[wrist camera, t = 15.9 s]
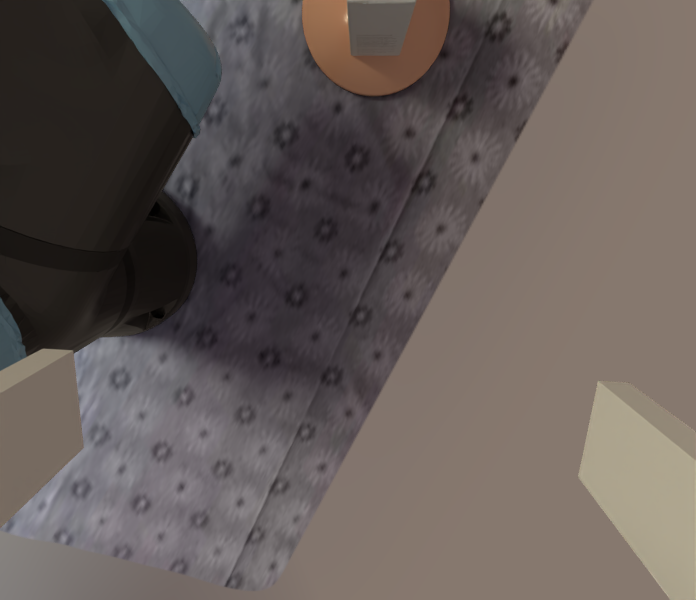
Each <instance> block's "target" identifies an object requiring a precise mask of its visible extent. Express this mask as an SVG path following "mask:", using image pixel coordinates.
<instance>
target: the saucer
mask: <svg viewBox="0 0 696 600" xmlns="http://www.w3.org/2000/svg"><path fill="white" fill-rule="evenodd" d="M449 19H450V2H449V0H417V1H416V4H415V7H414V10H413V14H412V17H411V20H410V23H409V27H408V30H407V33H406V36H405V39H404V42H403V46H402V49H401V52H400V55H398V56H366V55H365V56H352V55H351V52H350V40H349V26H348V11H347V0H303V6H302V22H303V29H304V34H305V38H306V42H307V45H308V47H309V50H310V52H311V55H312V56H313V58H314V60H315V62H316V64H317V65H318V66H319V68H320V69H321V70H322V72H323V73H324V74H325V75H326V76H327V77H328V78H329V79H330V80H331V81H333V82H334V83H335V84H336V85H338V86H340V87H341V88H343V89H345V90H347V91H349V92H352V93H355V94H358V95H363V96H385V95H390V94H393V93H397V92H399V91H401V90H403V89H406V88H407V87H409V86H410V85H412V84H414V83H415V82H416V81H417V80H418V79H420V78H421V77H422V76H423V75H424V74H425V73H426V72H427V71H428V69H429V68H430V67H431V65H432V64H433V63H434V61H435V59H436V58H437V56H438V54H439V52H440V51H441V48H442V46H443V43H444V41H445V38H446V34H447V31H448V25H449Z"/></svg>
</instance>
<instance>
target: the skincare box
mask: <svg viewBox="0 0 696 600" xmlns="http://www.w3.org/2000/svg"><path fill="white" fill-rule="evenodd" d="M416 1H417V0H347V11H348V26H349V40H350V52H351V55H352V56H365V55H366V56H398V55H400V52H401V49H402V46H403V42H404V39H405V36H406V33H407V30H408V27H409V23H410V20H411V17H412V14H413V10H414V7H415V4H416Z"/></svg>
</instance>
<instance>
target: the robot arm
mask: <svg viewBox="0 0 696 600" xmlns="http://www.w3.org/2000/svg"><path fill="white" fill-rule="evenodd" d="M221 74H222V68H221V62H220V57H219V55H218V52H217V50H216V48H215V46H214V44H213V43H212V41H211V39H210V38H209V36H208V35H207V33H206V32H205V30H204V29H203V28H202V27H201V25H200V24H199V23H198V22H197V20H196V19H195V18H194V17H193V16H192V14H191V13H190V12H189V11H188V10H187V9H186V7H185V6H184V5H183V4H182V3H181V2H180V1H179V0H0V528H1V527H2V526H3V525H4V524H5V523H6V522H7V521H8V520H9V519H10V518H11V517H12V516H13V515H14V514H15V513H16V512H17V511H19V510H20V509H21V508H22V507H23V506H24V505H25V504H26V503H27V502H28V501H29V500H30V499H31V498H32V497H33V496H34V495H35V494H36V493H37V492H38V491H39V490H40V489H41V488H42V487H43V486H44V485H45V484H47V483H48V482H49V481H50V480H51V479H52V478H53V477H54V476H55V475H56V474H57V473H58V472H59V471H60V470H61V469H62V468H63V467H64V466H65V465H66V464H67V463H68V462H69V461H70V460H71V459H72V458H73V457H74V456H76V455H77V454H78V453H79V452H80V451H81V450H82V449H83V448H84V446H83V437H82V428H81V418H80V409H79V400H78V391H77V381H76V372H75V363H74V353H75V352H77V351H79V350H80V349H82V348H84V347H85V346H87V345H88V344H90V343H92V342H93V341H95V340H97V339H98V338H102V337H120V336H130V335H135V334H138V333H141V332H144V331H147V330H149V329H151V328H153V327H155V326H157V325H159V324H160V323H161V322H163V321H164V320H166V319H167V318H169V317H170V316H171V315H173V314H174V313H175V312H176V311H177V310H178V309H179V308H180V307H181V306H182V304H183V303H184V302H185V300H186V299H187V297H188V295H189V293H190V291H191V289H192V287H193V284H194V280H195V276H196V270H197V252H196V246H195V241H194V238H193V234H192V232H191V229H190V227H189V225H188V223H187V221H186V219H185V217H184V216H183V214H182V212H181V211H180V210H179V208H178V207H177V206H176V205H175V203H174V202H173V201H172V200H171V199H170V198H169V197H168V196H167V195H166V194H165V193H163V192H162V190H163V188H164V187H165V185H166V183H167V181H168V180H169V178H170V176H171V175H172V173H173V171H174V169H175V168H176V166H177V164H178V162H179V161H180V159H181V157H182V156H183V154H184V152H185V150H186V149H187V147H188V145H189V143H190V142H191V140H192V138H197V136H198V135H199V133H200V126H199V124H200V122H201V120H202V118H203V116H204V114H205V112H206V110H207V108H208V106H209V104H210V102H211V101H212V99H213V97H214V95H215V93H216V91H217V89H218V87H219V84H220V81H221ZM578 478H579V479H580V480H581V482H582V483H583V484H584V486H585V487H586V488H587V490H588V491H589V492H590V493H591V495H592V496H593V498H594V499H595V500H596V502H597V503H598V504H599V506H600V507H601V508H602V510H603V511H604V512H605V514H606V515H607V516H608V517H609V519H610V520H611V522H612V523H613V524H614V526H615V527H616V528H617V529H618V531H619V532H620V534H621V535H622V536H623V538H624V539H625V540H626V542H627V543H628V544H629V546H630V547H631V548H632V549H633V551H634V552H635V554H636V555H637V556H638V557H639V559H640V560H641V562H642V563H643V564H644V565H645V567H646V568H647V569H648V571H649V572H650V573H651V575H652V576H653V577H654V579H655V580H656V581H657V583H658V584H659V585H660V587H661V588H662V589H663V591H664V592H665V593H666V595H667V596H668V597H669V599H670V600H696V431H694V430H693V429H692V428H690V427H689V426H688V425H686V424H685V423H684V422H682V421H681V420H679V419H678V418H677V417H675V416H674V415H672V414H671V413H670V412H669V411H667V410H666V409H664V408H663V407H662V406H660V405H659V404H658V403H656V402H655V401H654V400H652V399H651V398H649V397H648V396H647V395H645V394H644V393H643V392H641V391H640V390H638V389H637V388H636V387H634V386H633V385H632V384H630V383H627V382H626V383H625V382H610V381H598V385H597V389H596V395H595V399H594V403H593V409H592V413H591V418H590V422H589V427H588V432H587V437H586V441H585V446H584V451H583V456H582V460H581V465H580V470H579V474H578Z"/></svg>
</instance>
